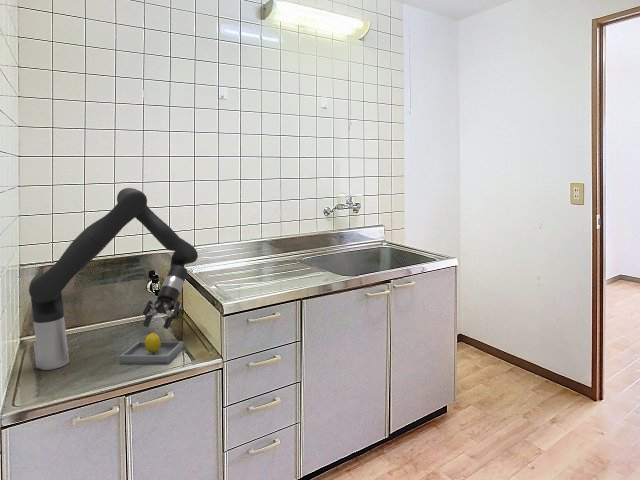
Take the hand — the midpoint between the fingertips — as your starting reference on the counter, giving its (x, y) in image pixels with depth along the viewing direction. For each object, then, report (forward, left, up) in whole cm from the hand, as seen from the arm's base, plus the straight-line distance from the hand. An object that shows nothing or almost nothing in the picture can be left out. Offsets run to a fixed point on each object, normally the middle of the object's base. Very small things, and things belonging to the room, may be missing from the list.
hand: (155, 327), depth 159 cm
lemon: (0, -2, -9) cm, 10 cm away
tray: (-1, -3, -10) cm, 11 cm away
